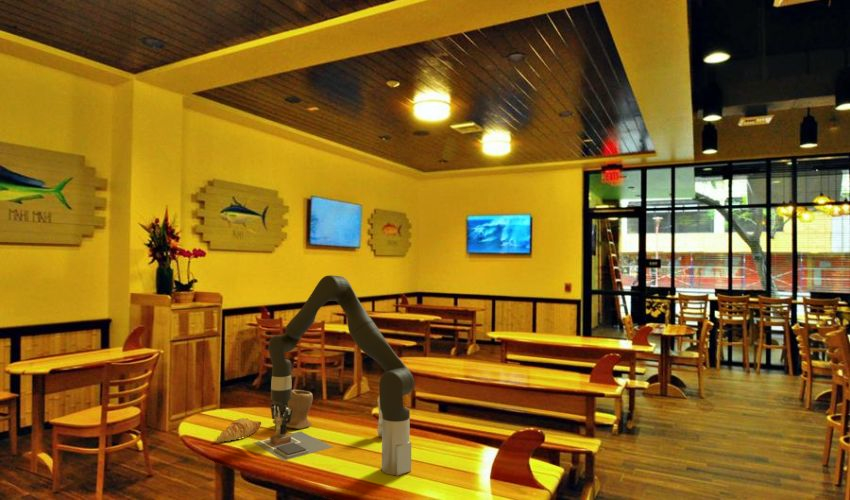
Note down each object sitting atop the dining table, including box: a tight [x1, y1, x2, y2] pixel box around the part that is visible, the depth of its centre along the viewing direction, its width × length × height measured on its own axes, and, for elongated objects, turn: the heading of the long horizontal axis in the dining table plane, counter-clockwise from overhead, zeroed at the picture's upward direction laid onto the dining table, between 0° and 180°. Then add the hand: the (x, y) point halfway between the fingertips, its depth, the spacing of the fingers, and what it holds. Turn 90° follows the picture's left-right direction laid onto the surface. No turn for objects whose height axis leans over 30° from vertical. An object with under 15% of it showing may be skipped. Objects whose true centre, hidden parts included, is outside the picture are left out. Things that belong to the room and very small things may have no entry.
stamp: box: [269, 415, 291, 445], centre depth 196 cm, size 6×6×10 cm
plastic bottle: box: [376, 394, 382, 438], centre depth 205 cm, size 6×7×20 cm
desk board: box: [253, 431, 333, 461], centre depth 193 cm, size 24×20×2 cm
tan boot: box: [272, 389, 314, 430], centre depth 218 cm, size 15×12×15 cm
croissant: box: [216, 417, 262, 443], centre depth 205 cm, size 21×10×8 cm, turn 152°
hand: (280, 432), depth 196 cm, fingers closed on stamp, 3 cm apart
